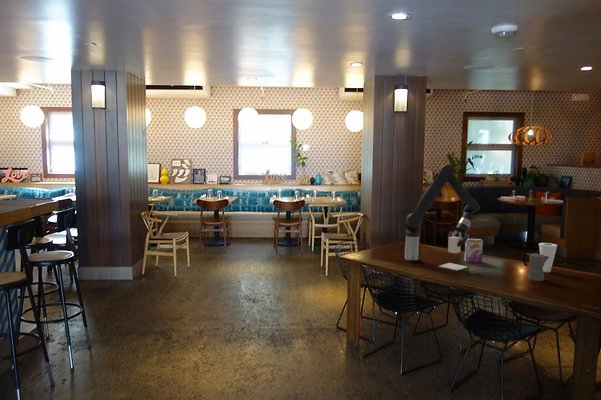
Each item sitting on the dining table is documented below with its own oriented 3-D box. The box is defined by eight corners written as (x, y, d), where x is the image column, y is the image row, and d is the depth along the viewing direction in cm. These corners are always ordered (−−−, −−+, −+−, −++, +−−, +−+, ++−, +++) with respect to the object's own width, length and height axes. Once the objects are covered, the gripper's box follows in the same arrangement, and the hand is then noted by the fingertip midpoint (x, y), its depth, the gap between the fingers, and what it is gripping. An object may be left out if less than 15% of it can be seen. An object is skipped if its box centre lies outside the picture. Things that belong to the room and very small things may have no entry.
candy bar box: (465, 262, 319) (467, 239, 317) (464, 260, 324) (465, 238, 322) (482, 262, 318) (483, 240, 316) (480, 261, 323) (481, 238, 321)
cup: (553, 274, 289) (555, 246, 287) (535, 271, 296) (536, 244, 294) (557, 271, 297) (559, 244, 295) (539, 268, 304) (541, 242, 302)
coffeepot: (549, 279, 277) (550, 250, 275) (546, 282, 270) (548, 253, 268) (521, 275, 286) (523, 247, 284) (518, 278, 278) (520, 249, 277)
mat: (457, 270, 296) (457, 270, 296) (438, 266, 306) (438, 265, 306) (468, 267, 305) (468, 266, 305) (449, 263, 315) (449, 262, 315)
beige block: (455, 253, 301) (456, 238, 300) (448, 251, 305) (448, 237, 304) (460, 252, 304) (460, 237, 303) (452, 250, 309) (453, 236, 308)
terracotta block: (474, 274, 288) (475, 268, 287) (469, 272, 291) (469, 266, 290) (477, 273, 290) (478, 267, 290) (472, 271, 293) (472, 265, 293)
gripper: (451, 221, 313) (442, 240, 307) (471, 223, 303) (461, 243, 296) (455, 228, 317) (445, 246, 311) (474, 230, 307) (465, 250, 300)
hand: (453, 245), depth 303 cm, fingers closed on beige block, 5 cm apart
